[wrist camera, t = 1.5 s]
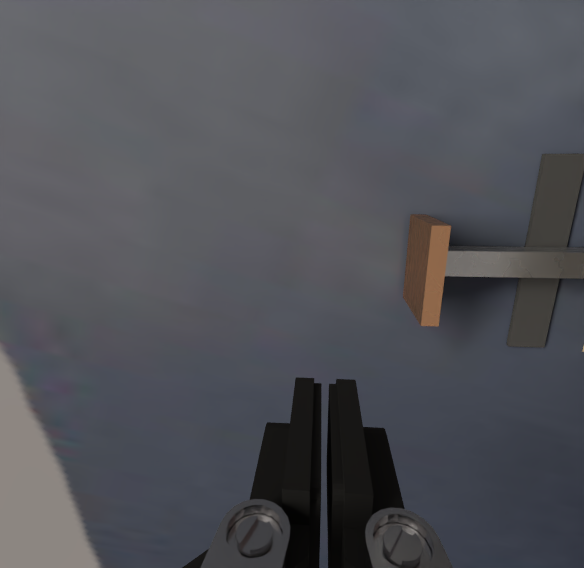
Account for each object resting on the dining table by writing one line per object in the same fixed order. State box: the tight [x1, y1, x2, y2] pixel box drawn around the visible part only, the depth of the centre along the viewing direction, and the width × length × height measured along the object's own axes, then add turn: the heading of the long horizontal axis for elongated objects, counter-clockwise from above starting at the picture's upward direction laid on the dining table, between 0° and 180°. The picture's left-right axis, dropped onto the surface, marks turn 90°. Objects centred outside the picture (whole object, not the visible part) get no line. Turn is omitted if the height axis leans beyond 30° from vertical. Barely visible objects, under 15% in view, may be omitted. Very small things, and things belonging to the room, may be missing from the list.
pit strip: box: [507, 154, 584, 347], centre depth 30 cm, size 16×3×1 cm, turn 0°
